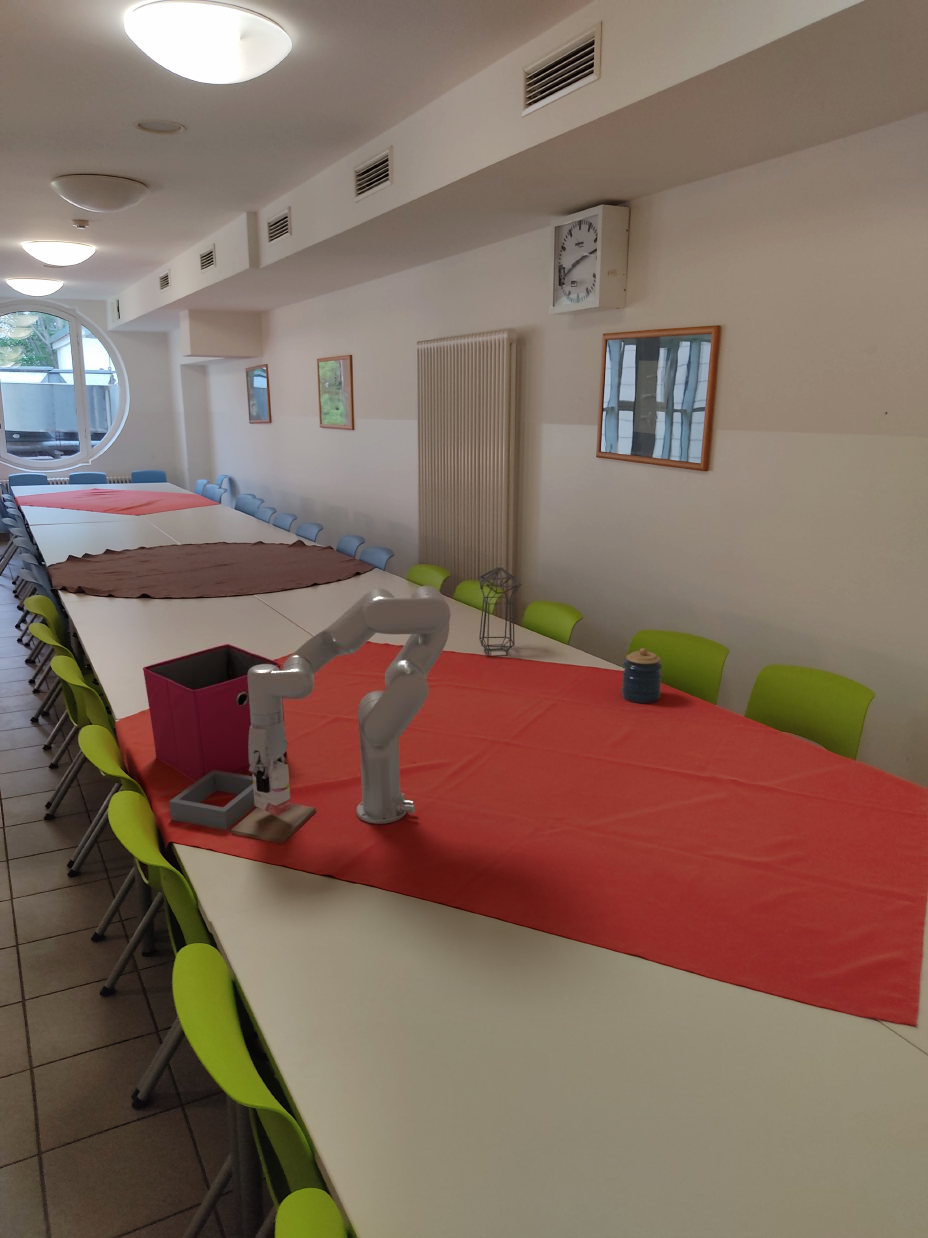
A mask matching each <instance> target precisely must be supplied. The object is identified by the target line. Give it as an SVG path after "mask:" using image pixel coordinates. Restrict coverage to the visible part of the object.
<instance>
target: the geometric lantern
mask: <svg viewBox="0 0 928 1238" xmlns="http://www.w3.org/2000/svg"><path fill="white" fill-rule="evenodd" d="M502 573H504V575H505V576H506V577H503V575H502ZM476 579H478V581H479V589H480V590H481V592H482V596H483V597H482V606H481V607H482V608H481V617H480V618H481V619H480V627H479V638H478V639H479V643H480V646H482V647H483V649H484V652H485V655H486V656H487V657H503V656H505V657H506V656H507V657H508V655H509V650H510V649H512V648H513V647H514V646H515V641H516V640H515V602H514V598H515V594H516V593H515V592H518V589H519V588H520V587H521V586H522V584H521V583H520V582H519V581H518V580H517V578H516V577H515V576H514V575H513V574H511V573H509V571H507V570H505V568H504V567H501V566H497V567H495V568H493V569H491V570H489V571H487V572H486V573H483V574H482V575H480V576H477V577H476ZM504 579H506V580H505V581H504ZM492 580H493V582H491V581H492ZM498 580H500V584H498ZM510 580H511V581H512V582H513V583H514V584H510V585H505V584H506V583H508V582H509V581H510ZM484 587H488V588H489V591H488V593H487V595H486V596H485V593H484ZM494 587H495V589H494ZM498 588H501V590H502V591H499V592H498ZM505 588H508V589H507V590H505ZM511 590H512V593H511V595H510V597H509V596H508V595H507V592H509V591H511ZM491 591H493V592H494V594H493V596H490V594H491ZM498 594H499V595H501V594H503V595H504V596H496V595H498ZM493 598H495V599H498V598H500V599H501V598H502V599H503V598H505V599H506V603H505V605H506V606H505V607H506V609H505V625H504V627H505V628H504V636H490V605H500V603H499V602H498V603H493V602H492V603H491V601H492V599H493ZM508 617H509V618H508ZM508 621H509V622H508ZM486 623H487V624H486ZM486 625H487V633H486ZM507 625H509V628H508V630H509V632H508V633H509V635H508V636H509V637H508V636H507V627H508V626H507ZM485 633H486V634H487V635H486V636H485ZM485 639H487V640H485ZM490 639H503V641H502V643H499V644H497V643H495V644H490V643H489V640H490ZM506 639H507V640H508V641H507V642H505V640H506ZM504 642H505V643H504ZM508 643H509V645H507V644H508ZM492 652H504V653H505V654H498V655H497V654H496V655H492Z"/></svg>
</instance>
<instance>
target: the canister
mask: <svg viewBox="0 0 928 1238" xmlns="http://www.w3.org/2000/svg"><path fill="white" fill-rule="evenodd" d="M625 658H626V659H625V660H624V661H623V662H622V665H623V667H624V669H623V670H622V687H621V695H622V697H623V699H625V700H627V701H628V702H631V703H638V704H651V703H652V704H653V703H655V702H658V701H659V700H660V697H661V694H662V693H661V686H662V685H661V684H662V677H663V675H662V673H661V670H662V668H663V665H662V663H661V658H660V656H658V655H657V654H656V653H654V652H651V651H648V649H647V648H645V647H641V648H640V649H639V650H635V651H632V652H631V653H629V654H626V656H625Z"/></svg>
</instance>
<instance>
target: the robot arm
mask: <svg viewBox="0 0 928 1238" xmlns="http://www.w3.org/2000/svg"><path fill="white" fill-rule="evenodd" d="M410 596H411V597H409V598H407V597H403V598H402V597H399V598H398V597H395V595H393V594H392V593H391V592H390V591H389V590H388V589H385V588H381V587H377V588H373V589H371V590H369V591H368V592H366V593H365V594H364V595H363V596H361V597H360V598H359V599H358V600H357V601H356V602H355V603H354V604H352V605H351V607H349V608H348V609H347V610H346V611H345V612H343V614H341V616H339V617H338V618H337V619H335V621H333V622H332V623H331V624H330V625H329V626H328V627H326V628H324V629H322V630H321V631H320V632H318V633H317V634H315V635H313V636H312V637H310V638H309V639H308V640H306V641H305V642H304V643H303V644H302V645H301V646H300V647H298V649H296V650H295V651H294V652H293V653H292V654H291V655H289V657H288V658H287V659H286V660H285V661H284V664H283V666H282V668H281V670H279V668H278V667H277V666H275V665H271V664H260V665H256V666H253V667H251V668H250V669H249V671H248V674H247V679H248V692H249V706H250V720H251V726H250V730H249V744H248V751H249V764H250V768H249V770H248V771H249V772H250V773H251V774H253V775H254V777H256V786H257V791H259V792H264V793H268V792H269V791H270V789H269V777H267V772H268V766H269V765H270V759H272V760H273V762H274V761H276V760H277V761H279V762H281V763H284V764H285V763H286V756H287V755H286V751H287V750H288V746H289V742H287V736H286V727H284V725H285V721H284V722H283V712H284V708H283V709H282V698H283V699H286V700H303V699H306V698H308V697H309V696H310V695H311V694H312V692H313V690H314V686H315V677H314V675H315V674H317V672H319V671H320V670H321V669H322V668H323V667H324V666H326V665H327V664H328V663H329V662H331V661H332V660H334V659H335V658H338V657H340V656H344V655H345V656H347V655H352V654H354V653H355V652H357V651H358V650H360V648H361V647H362V646H364V645H365V643H367V642H368V641H369V640H370V639H371V638H372V637H374V636H375V635H376V634H382V635H409V636H408V639H407V640H406V642H405V644H404V645H403V647H402V648H401V649H400V651H399V652H398V654H397V655H396V656H395V658H394V659H393V660H392V662H391V663H390V665H388V667H387V669H386V671H385V675H384V684H385V686H386V687H385V690H384V691H383V690H373V691H371V692H368V693H366V695H365V696H364V697H362V699H361V701H360V703H359V705H358V711H357V714H358V715H357V716H358V717H357V718H358V729H359V744H360V745H359V746H360V771H361V772H360V773H361V776H360V777H361V797H362V799H361V800H362V801H361V802H360V803H358V805H357V807H356V815H357V818H359V819H360V820H362V821H363V822H366V823H369V824H374V825H375V824H376V825H377V824H383V825H384V824H390V823H393V822H396V821H398V820H401V819H402V818H404V816H406V814H407V813H410V814H415V812H416V806H415V801H414V800H406V798H405V793H404V792H401V773H400V772H401V768H400V767H401V765H400V764H401V763H400V762H401V761H400V738H401V737H402V735H403V734H404V732H405V731H406V730H407V728H408V727H409V725H410V724H411V723H412V721H413V719H415V717H416V716H417V714H418V713H419V712H420V710H421V708H422V707H423V705H424V704H425V702H426V699H427V697H428V694H429V683H428V680H427V676H428V675H429V672H430V671H431V670H432V668H433V667H434V665H435V664H436V662H437V661H438V658H440V655H441V654H442V652H443V651H444V649H445V646H446V644H447V642H448V638H449V633H450V620H451V609H450V606H449V603H448V602H447V600H446V599H445V597H444V595H443V594H442V593H441V592H440V591H439V590H438V589H437V588H436V587H435V586H432V585H422V586H420V587H418V588H416V589H415V590H414V591H413V592H412V594H411V595H410ZM260 761H261V762H262V763H263V764H260ZM260 767H264V769H263V772H262V771H261V770H260Z"/></svg>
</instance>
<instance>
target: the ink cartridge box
mask: <svg viewBox="0 0 928 1238" xmlns="http://www.w3.org/2000/svg"><path fill="white" fill-rule="evenodd" d="M260 764H263V763H262V762H261V761H260ZM263 769H264V767H260V770H261V771H262V772H263ZM289 771H290V770H289V764H285V763H281V762H279V761H277V760H276V761H274V762H273V760H272V759H270V765H269V766H268V772H267V777H269V789H270V791H269V792H268V793H264V792H259V791H257V786H256V777H254V775H253V774H252V773H251V774H252V775H251V776H252V777H253V789H254V803H255V806H254V807H256V808H257V807H259V808H261V809H263V810H265V811H267V812H269V813H271V814H273V815H275V816H277V815H279V814H281V813H283V812H285V811H287V810H290V809H291V803H292V801H291V788H290V787H291V785H290V774H289V773H290V772H289Z"/></svg>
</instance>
